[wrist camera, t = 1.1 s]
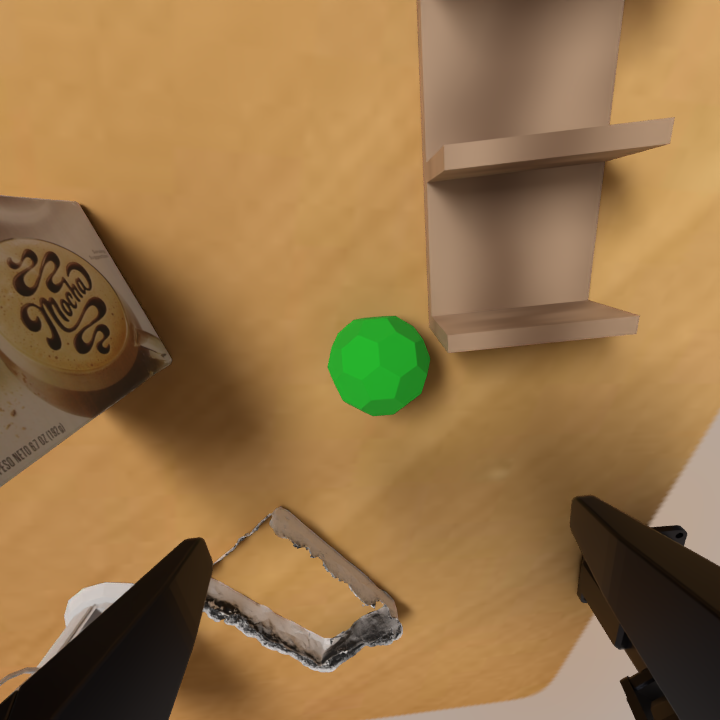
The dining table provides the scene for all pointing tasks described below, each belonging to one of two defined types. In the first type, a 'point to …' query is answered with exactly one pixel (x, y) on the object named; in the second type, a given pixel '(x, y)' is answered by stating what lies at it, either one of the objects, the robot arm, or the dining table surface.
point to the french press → (80, 617)
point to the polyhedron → (379, 364)
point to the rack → (519, 166)
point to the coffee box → (62, 329)
